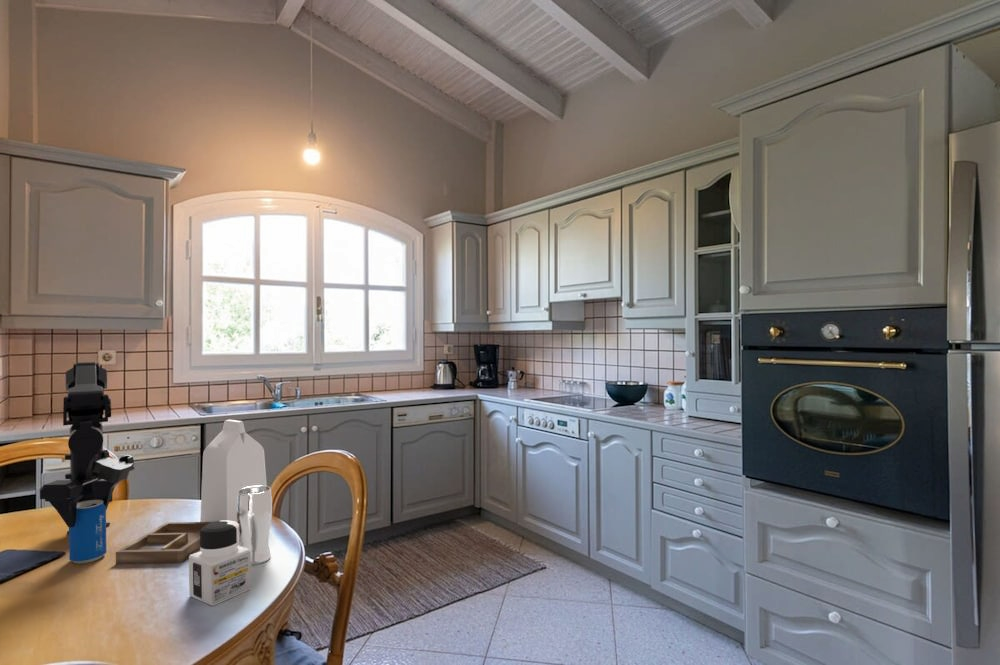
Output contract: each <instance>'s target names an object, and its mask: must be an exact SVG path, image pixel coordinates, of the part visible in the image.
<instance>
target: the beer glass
mask: <svg viewBox="0 0 1000 665" xmlns="http://www.w3.org/2000/svg"><path fill="white" fill-rule="evenodd" d="M237 493H238V496H237V522H238V524H239V538H240V543H241V547H244V548H247V549H250V551H251V566H256V565H255V564H257V565H261V564H263V562H264V563H265V561H266V562H267V561H269V560H270V559H271V557H272V555H271V551H270V546H269V538H270V536H269V535H270V529H271V523H272V517H273V498H272V487H271V486H268V485H267V486H251V487H246V488H243V489H240V490H239V491H238V492H237ZM260 563H261V564H260Z"/></svg>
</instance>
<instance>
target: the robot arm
mask: <svg viewBox="0 0 1000 665" xmlns="http://www.w3.org/2000/svg"><path fill="white" fill-rule="evenodd" d="M99 364H100V362H96V361H89V362H88V361H87V362H85V361H84V362H80V361H79V362H76V363H73V364H72V365H73V367H71V368H70V369H68V370H67V371H65V392H67V396H63V408H62V410H63V413H62V414H63V415H62V416H63V420H62V423H63V424H62V425H63V426H70V428H69V437H68V442H67V443H68V444H67V446H68V448H69V453H68V454H65V455H64V460H65V461H69V464H70V465H69V472H68V473H65V475H64V479H61V480H60V479H59V480H58V479H57V480H54V481H51V482H48V483H45V484H43V485H42V486H41V487H40V488H39V500H44V501H45V502H46V503H47V502H49V504H50V505H51V506H52V507H53V509H55V511H56V512H57V513H58V514H59V516H60V517H61V519H62V520H63V522H64V523H65V525H66V526H67V527H68V528H69V527H74V526H75V522H76V510H77V503H79V502H83V501H89V500H103V504H104V505H105V506H106V511H107V509H108V508H109V504H110V503H111V502H113V493H114V490H115V488H116V487H117V486H118V485H119V483H121V482H123V481H125V480H127V479H128V477H129V474H130V472H131V471H134V470H135V462H134V461H135V460H134V456H133V455H130V454H125V455H122V456H121V457H120V458H118V457H115V458H112V457H111V456H110V452H109V450H108V449H104V446H103V445H104V435H103V434H104V433H103V431H104V430H103V429H104V428H103V427H104V426H103V424H102V423H107V422H109V418H112V402H111V401H112V400H111V398H110V397H109V394H107V393H105V390H107V389H108V370H107V369H106V368H103V367H101V366H100V365H99ZM110 525H111V522H106V527H108V526H110ZM66 534H67V535H69V530H67V531H66Z"/></svg>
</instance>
